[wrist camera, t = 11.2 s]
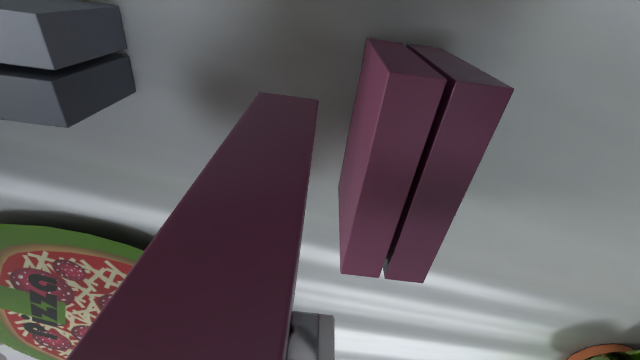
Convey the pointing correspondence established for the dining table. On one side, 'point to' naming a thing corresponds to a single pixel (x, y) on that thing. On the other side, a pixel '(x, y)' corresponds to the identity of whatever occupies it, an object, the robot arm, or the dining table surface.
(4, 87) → the grey books
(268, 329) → the plum book
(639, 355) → the potted flower
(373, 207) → the thin books
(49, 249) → the pizza
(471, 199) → the dining table surface
